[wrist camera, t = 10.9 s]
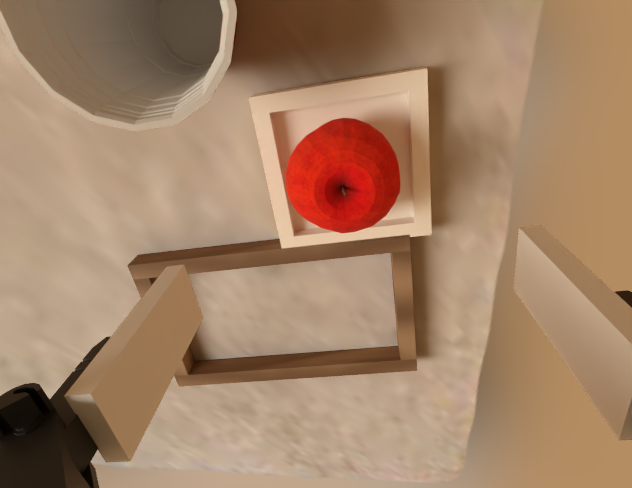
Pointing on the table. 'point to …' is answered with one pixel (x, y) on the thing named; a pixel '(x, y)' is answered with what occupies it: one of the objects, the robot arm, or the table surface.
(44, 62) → the plastic cup
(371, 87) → the dish
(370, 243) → the pocket frame
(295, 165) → the apple
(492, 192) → the table surface
